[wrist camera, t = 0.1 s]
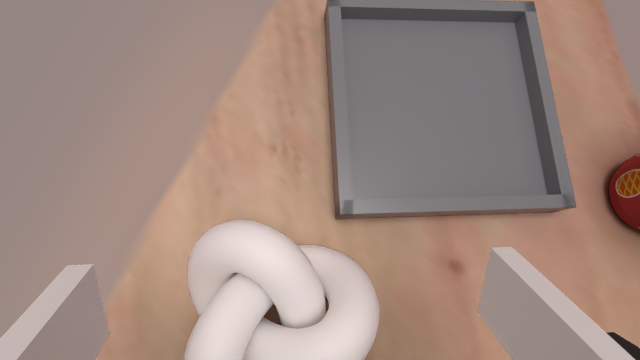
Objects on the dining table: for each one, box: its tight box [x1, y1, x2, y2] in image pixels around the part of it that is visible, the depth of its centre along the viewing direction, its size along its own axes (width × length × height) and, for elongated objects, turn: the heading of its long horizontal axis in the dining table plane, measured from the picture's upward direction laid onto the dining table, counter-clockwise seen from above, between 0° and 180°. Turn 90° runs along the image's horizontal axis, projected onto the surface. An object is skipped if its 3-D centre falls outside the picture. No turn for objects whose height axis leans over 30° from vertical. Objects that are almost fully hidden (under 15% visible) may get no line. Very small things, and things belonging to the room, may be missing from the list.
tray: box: [325, 0, 576, 219], centre depth 30 cm, size 18×18×2 cm
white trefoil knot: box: [184, 220, 380, 360], centre depth 22 cm, size 11×12×9 cm
